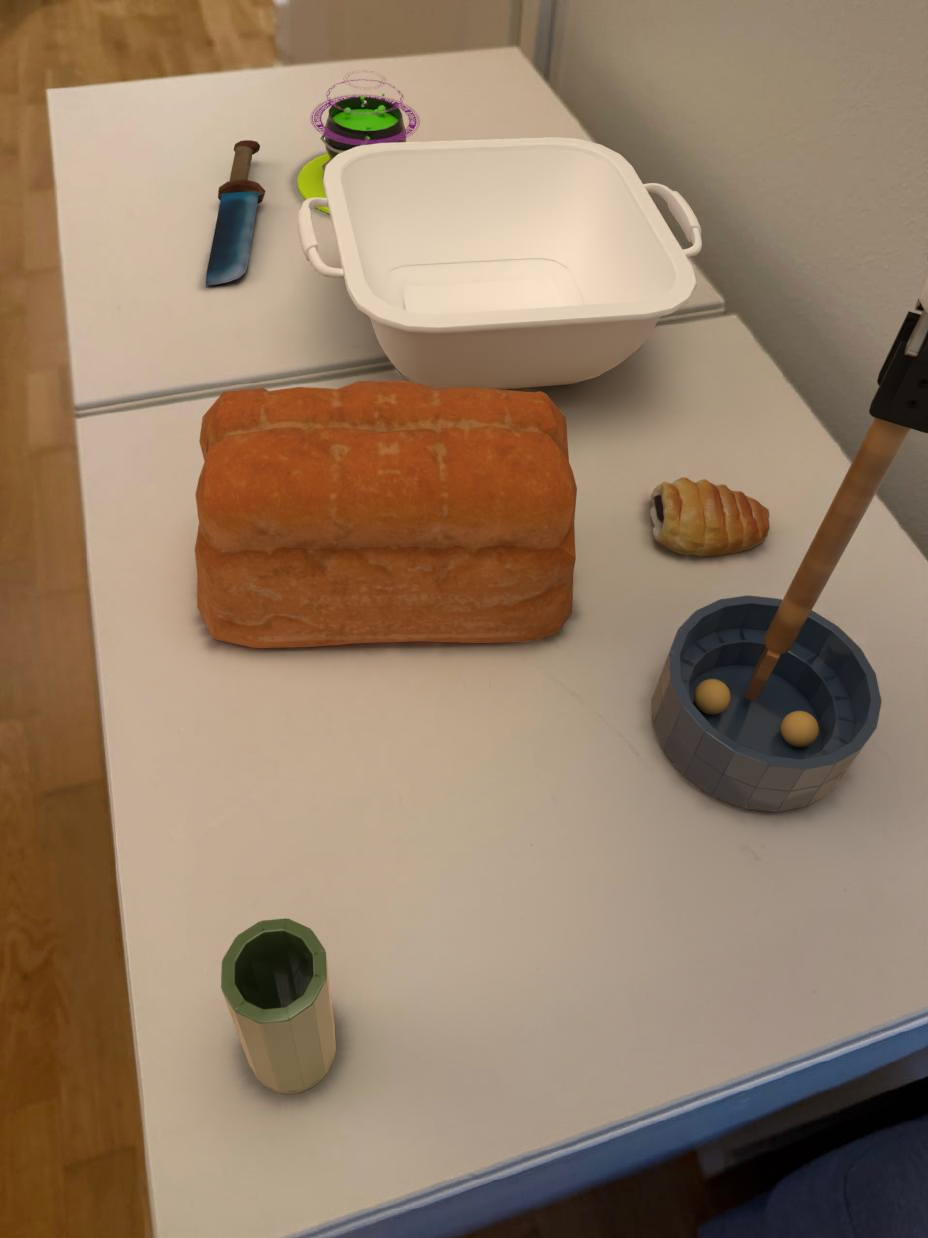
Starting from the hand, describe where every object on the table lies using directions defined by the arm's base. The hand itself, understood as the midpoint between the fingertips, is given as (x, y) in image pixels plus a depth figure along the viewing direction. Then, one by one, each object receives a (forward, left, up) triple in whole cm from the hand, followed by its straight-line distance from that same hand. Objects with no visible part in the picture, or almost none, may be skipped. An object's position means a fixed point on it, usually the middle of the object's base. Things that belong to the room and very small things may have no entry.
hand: (905, 404), depth 49 cm
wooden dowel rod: (0, 0, -25) cm, 25 cm away
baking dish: (+30, +32, -27) cm, 51 cm away
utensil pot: (-33, +18, -27) cm, 46 cm away
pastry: (+15, +8, -27) cm, 32 cm away
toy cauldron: (+50, +55, -27) cm, 79 cm away
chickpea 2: (-2, -3, -25) cm, 25 cm away
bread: (-1, +28, -27) cm, 38 cm away
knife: (+37, +63, -27) cm, 77 cm away
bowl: (-2, 0, -27) cm, 27 cm away
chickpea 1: (-2, +3, -25) cm, 25 cm away
